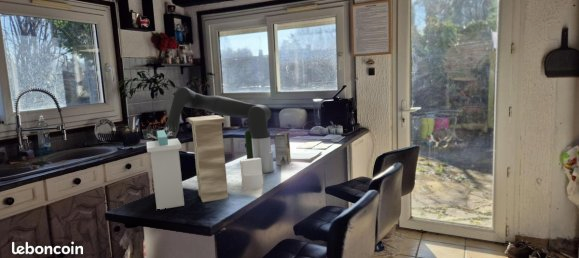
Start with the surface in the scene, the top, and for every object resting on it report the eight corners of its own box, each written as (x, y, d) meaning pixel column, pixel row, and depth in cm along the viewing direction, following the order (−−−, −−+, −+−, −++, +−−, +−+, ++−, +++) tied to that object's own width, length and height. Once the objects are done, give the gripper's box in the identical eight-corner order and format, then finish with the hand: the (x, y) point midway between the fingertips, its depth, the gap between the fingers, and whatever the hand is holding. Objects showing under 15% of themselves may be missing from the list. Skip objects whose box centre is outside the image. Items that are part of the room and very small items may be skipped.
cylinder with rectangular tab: (245, 190, 165) (243, 162, 163) (239, 185, 173) (237, 159, 172) (266, 187, 168) (263, 159, 167) (259, 182, 177) (257, 156, 175)
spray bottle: (268, 158, 228) (265, 115, 224) (253, 161, 222) (249, 117, 218) (258, 156, 236) (255, 115, 233) (243, 159, 230) (240, 117, 227)
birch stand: (195, 192, 166) (187, 117, 162) (223, 188, 170) (216, 115, 166) (201, 204, 150) (193, 121, 146) (232, 199, 154) (225, 118, 150)
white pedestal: (153, 199, 161) (146, 141, 158) (183, 194, 165) (177, 138, 162) (154, 212, 144) (146, 148, 141) (187, 207, 148) (181, 144, 145)
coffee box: (279, 161, 219) (277, 132, 216) (291, 161, 217) (289, 132, 215) (275, 165, 210) (273, 135, 208) (287, 164, 208) (285, 134, 206)
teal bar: (157, 137, 168) (156, 130, 167) (164, 137, 169) (163, 130, 168) (159, 145, 145) (158, 137, 145) (168, 144, 146) (167, 136, 146)
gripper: (143, 135, 187) (141, 120, 173) (174, 131, 192) (175, 117, 178) (145, 149, 184) (143, 136, 170) (176, 146, 189) (177, 132, 175)
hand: (159, 126), depth 174 cm, fingers open, 8 cm apart
